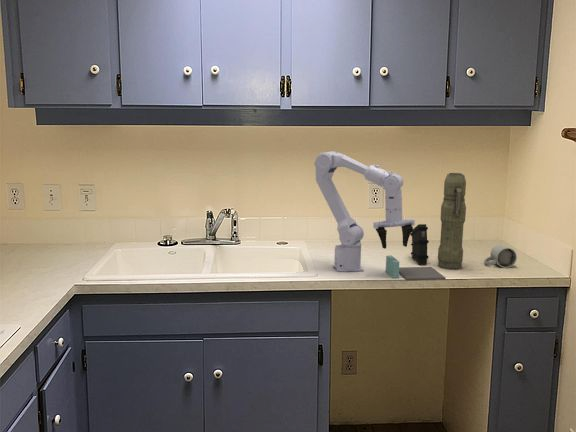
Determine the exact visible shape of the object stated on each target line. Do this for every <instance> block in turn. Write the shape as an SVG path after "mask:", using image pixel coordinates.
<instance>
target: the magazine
mask: <svg viewBox="0 0 576 432" xmlns="http://www.w3.org/2000/svg"><path fill="white" fill-rule="evenodd" d="M428 230H429V227H428V226H427V224H425V223H420V224H419V223H418V224H417V225H416V226H415V227H413V230H412V232H411V234H410V236H409V237H411V243H410V246H411V252H410V255H411V258H412V259H413V261H415V263H417V264H418V265H419V266H427V264H428V263H427V262H428V259H429V257H430V256H429V255H428V244H429V240H428Z"/></svg>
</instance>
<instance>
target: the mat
mask: <svg viewBox="0 0 576 432" xmlns="http://www.w3.org/2000/svg"><path fill="white" fill-rule="evenodd" d="M399 276H401V277H402V278H404V280H405V281H431V280H432V281H433V280H435V281H436V280H446V279H447V277H446V276H444V275H443V274H442V273H440V272H439V271H437V270H436V269H435V268H434V267H432V266H412V267H411V266H408V267H407V266H406V267H403V266H402V267H401V266H399Z"/></svg>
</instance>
